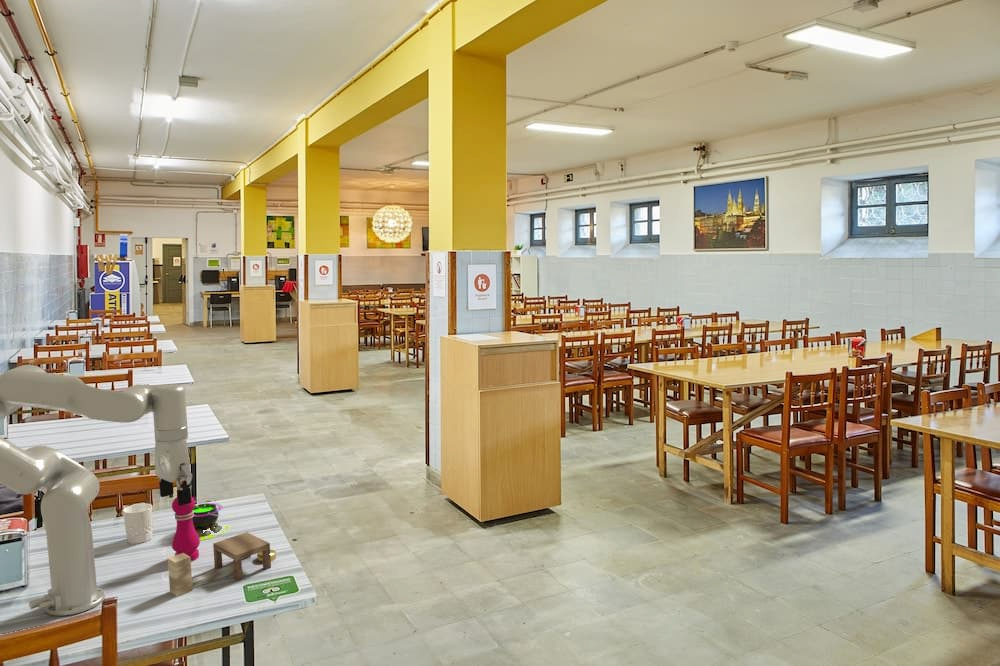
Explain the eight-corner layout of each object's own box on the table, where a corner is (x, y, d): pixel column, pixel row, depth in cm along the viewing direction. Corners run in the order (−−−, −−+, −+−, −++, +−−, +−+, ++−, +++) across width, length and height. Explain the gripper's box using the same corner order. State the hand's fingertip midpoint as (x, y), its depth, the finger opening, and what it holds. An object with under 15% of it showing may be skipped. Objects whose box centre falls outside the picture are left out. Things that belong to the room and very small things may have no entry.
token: (263, 564, 194) (262, 558, 194) (254, 559, 198) (253, 553, 198) (279, 559, 198) (279, 553, 198) (270, 554, 201) (270, 548, 201)
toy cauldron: (238, 530, 218) (236, 496, 217) (190, 545, 207) (188, 510, 206) (216, 518, 229) (215, 486, 227) (170, 532, 218) (167, 498, 216)
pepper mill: (190, 564, 194) (185, 495, 192) (167, 562, 196) (162, 494, 193) (206, 553, 201) (202, 486, 199) (183, 551, 203) (179, 485, 201)
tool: (177, 596, 177) (174, 562, 176) (169, 591, 179) (167, 558, 178) (239, 572, 190) (237, 540, 188) (231, 568, 192) (230, 536, 191)
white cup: (159, 537, 213) (157, 506, 212) (134, 547, 206) (132, 514, 205) (145, 532, 217) (142, 501, 216) (120, 541, 211) (117, 509, 209)
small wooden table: (237, 580, 185) (235, 555, 184) (214, 567, 192) (213, 543, 192) (270, 567, 192) (269, 543, 191) (247, 555, 200) (246, 532, 199)
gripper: (141, 431, 177) (145, 496, 179) (172, 443, 166) (176, 512, 168) (170, 425, 183) (174, 488, 185) (202, 436, 172) (206, 503, 174)
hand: (175, 499), depth 177 cm, fingers open, 9 cm apart
